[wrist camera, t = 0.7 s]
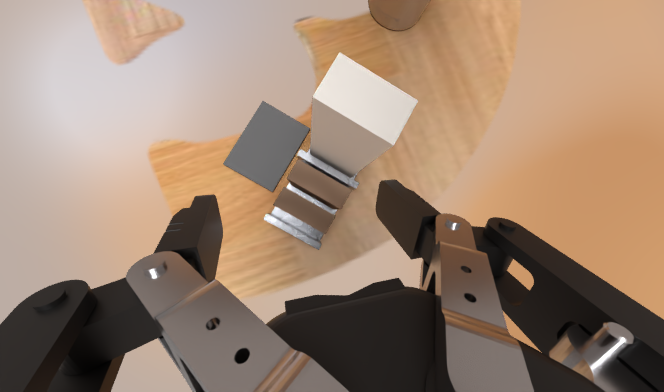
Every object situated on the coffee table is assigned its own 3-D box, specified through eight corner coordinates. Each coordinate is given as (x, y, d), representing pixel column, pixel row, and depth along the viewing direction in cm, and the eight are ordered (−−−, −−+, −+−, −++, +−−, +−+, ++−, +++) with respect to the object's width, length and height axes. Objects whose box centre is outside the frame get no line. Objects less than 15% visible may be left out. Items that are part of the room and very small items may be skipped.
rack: (320, 132, 36) (323, 110, 28) (364, 158, 37) (380, 144, 29) (269, 217, 35) (258, 220, 27) (317, 244, 35) (319, 254, 27)
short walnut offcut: (288, 191, 34) (284, 186, 28) (330, 214, 35) (335, 215, 28) (279, 206, 34) (273, 205, 27) (322, 229, 34) (325, 234, 28)
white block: (321, 141, 35) (339, 52, 15) (356, 162, 35) (418, 100, 16) (309, 161, 35) (312, 96, 15) (344, 182, 35) (393, 145, 15)
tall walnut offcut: (300, 170, 34) (298, 159, 27) (341, 194, 35) (351, 190, 27) (291, 185, 34) (286, 178, 26) (333, 209, 35) (341, 209, 27)
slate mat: (263, 102, 36) (262, 100, 35) (309, 129, 36) (309, 128, 35) (224, 164, 34) (223, 164, 34) (272, 192, 35) (272, 191, 34)
